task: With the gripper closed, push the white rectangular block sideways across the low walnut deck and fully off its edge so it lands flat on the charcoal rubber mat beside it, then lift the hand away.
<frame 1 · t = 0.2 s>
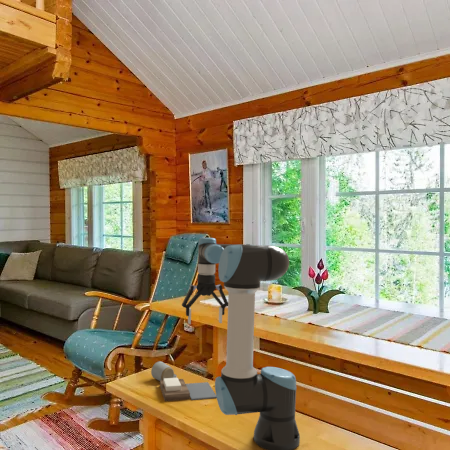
hand: (204, 323, 191), 28 cm above the bench, tool pointing down, fingers open, 13 cm apart
white rectangular block: (172, 386, 184), point 2 cm above the bench, touching deck
deck: (174, 392, 185), on the bench
ceramic mug: (164, 380, 199), on the bench
mat: (200, 391, 186), on the bench
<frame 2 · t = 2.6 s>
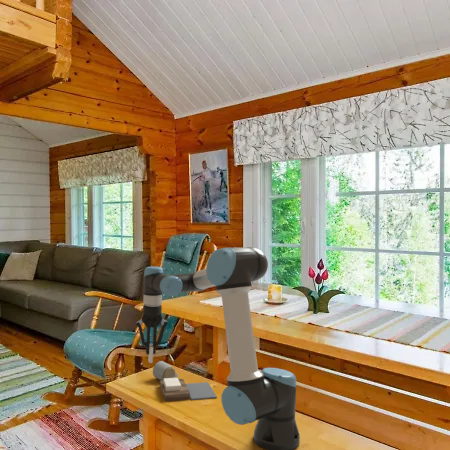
hand: (150, 361, 182), 13 cm above the bench, tool pointing down, fingers closed
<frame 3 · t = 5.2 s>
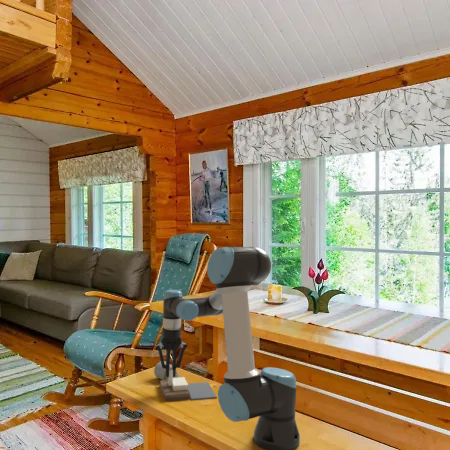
hand: (170, 384, 184), 4 cm above the bench, tool pointing down, fingers closed
white rectangular block: (179, 386, 185), point 3 cm above the bench, touching gripper
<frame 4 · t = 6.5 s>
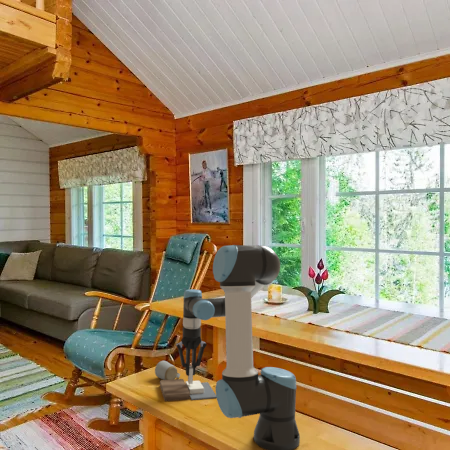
hand: (190, 382, 186), 4 cm above the bench, tool pointing down, fingers closed
white rectangular block: (194, 389, 187), point 1 cm above the bench, touching mat
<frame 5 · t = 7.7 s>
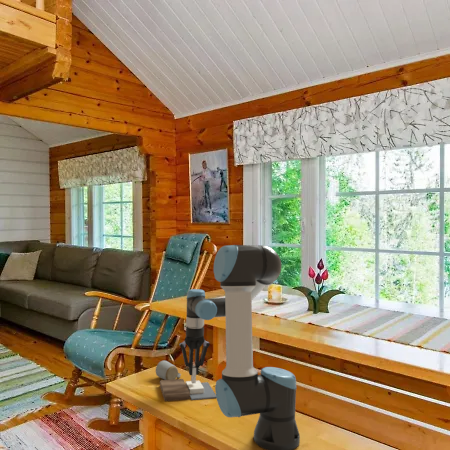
hand: (193, 382, 187), 4 cm above the bench, tool pointing down, fingers closed
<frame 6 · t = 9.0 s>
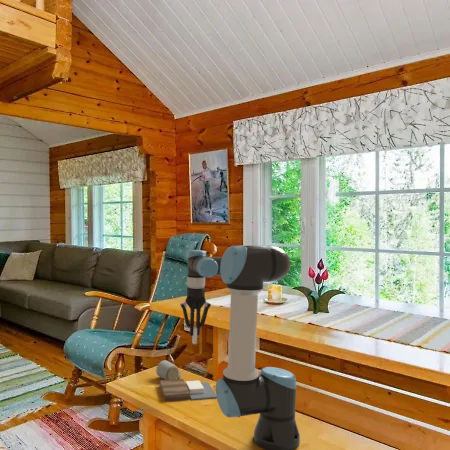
hand: (194, 343, 186), 20 cm above the bench, tool pointing down, fingers closed
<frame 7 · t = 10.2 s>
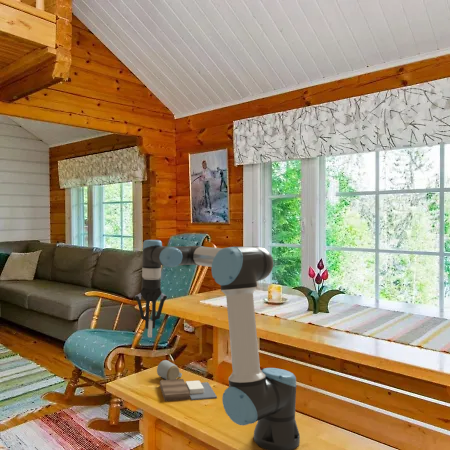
hand: (149, 336, 179), 24 cm above the bench, tool pointing down, fingers closed
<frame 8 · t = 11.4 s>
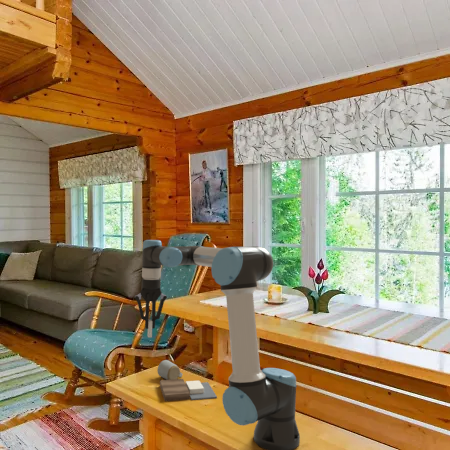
hand: (149, 336, 179), 24 cm above the bench, tool pointing down, fingers closed
at the end: white rectangular block inside the target area (3.4 cm from its centre), point 0.6 cm above the bench; white rectangular block tilted 0°; white rectangular block touching mat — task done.
